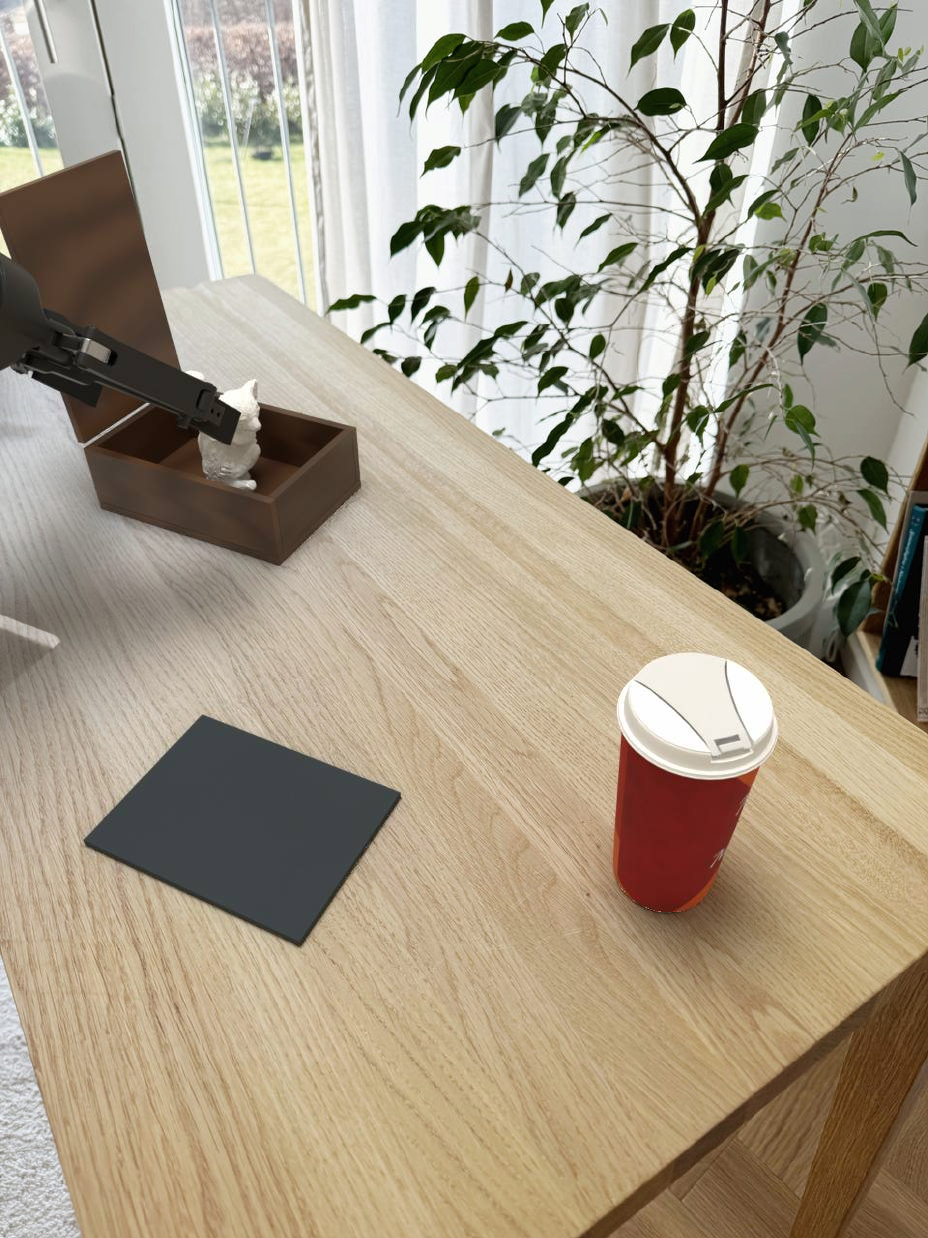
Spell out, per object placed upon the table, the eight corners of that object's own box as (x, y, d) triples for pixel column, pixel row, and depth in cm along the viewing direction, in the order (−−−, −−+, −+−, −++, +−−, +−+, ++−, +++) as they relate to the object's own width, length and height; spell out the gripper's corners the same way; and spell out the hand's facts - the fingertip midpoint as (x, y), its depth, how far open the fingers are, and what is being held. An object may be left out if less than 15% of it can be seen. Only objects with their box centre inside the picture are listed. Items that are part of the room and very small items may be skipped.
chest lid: (121, 149, 81) (113, 149, 81) (-5, 197, 71) (-12, 196, 72) (184, 378, 93) (177, 377, 94) (84, 444, 84) (78, 442, 84)
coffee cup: (755, 911, 57) (816, 739, 47) (626, 947, 55) (661, 776, 46) (691, 802, 63) (732, 630, 53) (573, 832, 61) (593, 659, 52)
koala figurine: (202, 521, 86) (176, 398, 78) (174, 487, 90) (146, 367, 82) (289, 492, 89) (272, 371, 81) (258, 460, 94) (239, 342, 86)
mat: (84, 845, 61) (82, 840, 60) (203, 718, 69) (202, 713, 69) (300, 946, 55) (299, 942, 55) (401, 797, 64) (401, 792, 63)
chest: (361, 486, 92) (356, 427, 87) (279, 565, 82) (269, 503, 78) (193, 439, 98) (181, 382, 94) (100, 508, 89) (82, 448, 85)
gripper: (-213, 314, 62) (31, 419, 82) (87, 397, 54) (277, 491, 74) (-175, 203, 62) (59, 335, 82) (130, 268, 54) (308, 397, 74)
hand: (163, 409), depth 78 cm, fingers open, 13 cm apart
